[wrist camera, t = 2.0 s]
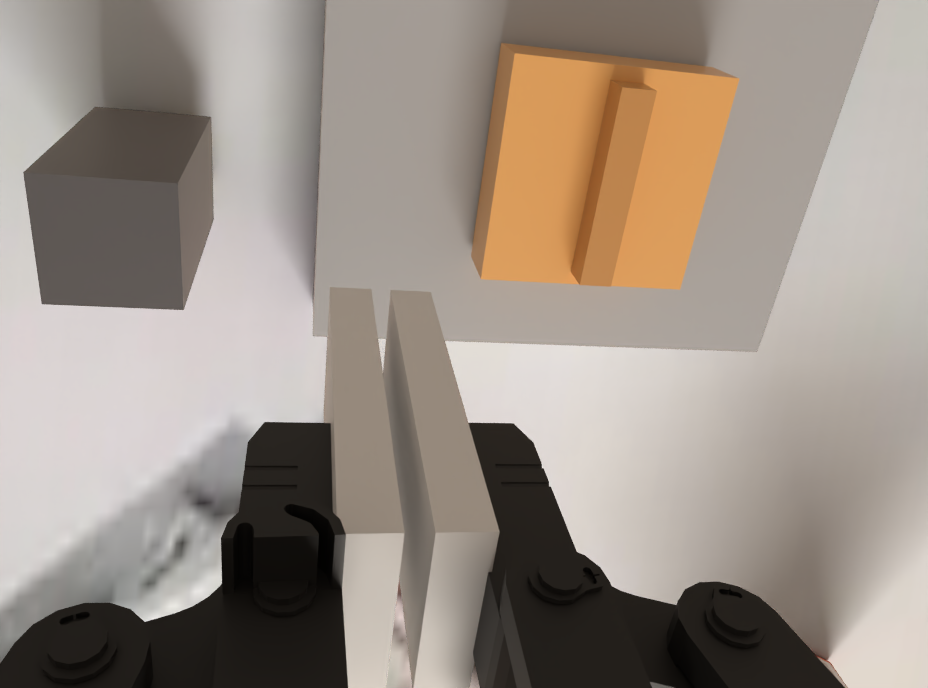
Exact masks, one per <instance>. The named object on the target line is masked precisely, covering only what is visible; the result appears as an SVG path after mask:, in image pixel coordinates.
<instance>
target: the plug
mask: <svg viewBox="0 0 928 688" xmlns="http://www.w3.org/2000/svg"><path fill="white" fill-rule="evenodd" d="M23 173H24V180H25V187H26V194H27V201H28V209H29V216H30V223H31V230H32V237H33V244H34V251H35V259H36V266H37V273H38V280H39V287H40V294H41V301H42V304H51V305H76V306H101V307H125V308H150V309H174V310H184V307H185V304H186V301H187V298H188V295H189V292H190V289H191V286H192V283H193V280H194V277H195V274H196V271H197V268H198V265H199V262H200V259H201V256H202V253H203V250H204V247H205V244H206V241H207V238H208V235H209V232H210V229H211V226H212V223H213V220H214V214H213V174H212V133H211V117H206V116H194V115H183V114H172V113H160V112H149V111H138V110H127V109H115V108H104V107H94V108H93V109H92V110H91V111H90V112H89V113H88V114H87V115H86V116H85V117H84V118H82V119H81V120H80V121H79V122H78V123H77V124H76V125H75V126H74V127H73V128H72V129H70V130H69V131H68V132H67V133H66V134H65V135H64V136H63V137H62V138H61V139H59V140H58V141H57V142H56V143H55V144H54V145H53V146H52V147H51V148H50V149H49V150H47V151H46V152H45V153H44V154H43V155H42V156H41V157H40V158H39V159H38V160H36V161H35V162H34V163H33V164H32V165H31V166H30V167H29V168H28V169H27V170H26V171H24V172H23Z"/></svg>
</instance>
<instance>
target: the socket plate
mask: <svg viewBox="0 0 928 688" xmlns="http://www.w3.org/2000/svg"><path fill="white" fill-rule="evenodd" d="M878 2H879V0H325V25H324V49H323V74H322V99H321V124H320V148H319V173H318V198H317V222H316V247H315V272H314V296H313V336H322V337H327V336H328V317H329V297H330V287H339V288H360V289H371V291H372V298H373V306H374V313H375V320H376V328H377V335H378V339H386V335H387V324H388V313H389V302H390V292H391V290H402V291H423V292H431V295H432V298H433V302H434V305H435V309H436V312H437V316H438V319H439V323H440V326H441V330H442V333H443V337H444V340H445V341H463V342H491V343H519V344H547V345H576V346H604V347H632V348H660V349H688V350H717V351H745V352H757V351H758V348H759V345H760V342H761V339H762V336H763V333H764V330H765V328H766V325H767V322H768V319H769V316H770V313H771V310H772V307H773V304H774V302H775V299H776V296H777V293H778V290H779V287H780V284H781V281H782V279H783V276H784V273H785V270H786V267H787V264H788V261H789V258H790V256H791V253H792V250H793V247H794V244H795V241H796V238H797V235H798V232H799V230H800V227H801V224H802V221H803V218H804V215H805V212H806V209H807V207H808V204H809V201H810V198H811V195H812V192H813V189H814V186H815V184H816V181H817V178H818V175H819V172H820V169H821V166H822V163H823V160H824V158H825V155H826V152H827V149H828V146H829V143H830V140H831V137H832V135H833V132H834V129H835V126H836V123H837V120H838V117H839V114H840V112H841V109H842V106H843V103H844V100H845V97H846V94H847V91H848V88H849V86H850V83H851V80H852V77H853V74H854V71H855V68H856V65H857V63H858V60H859V57H860V54H861V51H862V48H863V45H864V42H865V40H866V37H867V34H868V31H869V28H870V25H871V22H872V19H873V16H874V14H875V11H876V8H877V5H878ZM501 43H507V44H516V45H525V46H533V47H542V48H551V49H559V50H568V51H577V52H586V53H594V54H603V55H612V56H620V57H629V58H638V59H647V60H655V61H664V62H673V63H681V64H690V65H699V66H708V67H713V68H716V69H718V70H720V71H723V72H725V73H728V74H730V75H732V76H735V77H737V78H739V83H738V86H737V90H736V93H735V97H734V100H733V104H732V107H731V111H730V114H729V118H728V121H727V125H726V129H725V132H724V136H723V139H722V143H721V146H720V150H719V153H718V157H717V160H716V164H715V168H714V171H713V175H712V178H711V182H710V185H709V189H708V192H707V196H706V199H705V203H704V207H703V210H702V214H701V217H700V221H699V224H698V228H697V231H696V235H695V238H694V242H693V246H692V249H691V253H690V256H689V260H688V263H687V267H686V270H685V274H684V277H683V281H682V285H681V288H680V290H677V289H658V288H638V287H619V286H611V287H606V286H587V285H579V284H561V283H542V282H523V281H504V280H484V279H481V278H480V276H479V274H478V272H477V269H476V267H475V265H474V262H473V260H472V258H471V252H472V245H473V238H474V231H475V224H476V217H477V210H478V203H479V196H480V188H481V181H482V174H483V167H484V160H485V153H486V146H487V139H488V132H489V125H490V118H491V111H492V103H493V96H494V89H495V82H496V75H497V68H498V61H499V54H500V47H501Z"/></svg>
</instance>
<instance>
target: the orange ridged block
mask: <svg viewBox="0 0 928 688" xmlns="http://www.w3.org/2000/svg"><path fill="white" fill-rule="evenodd" d="M738 83H739V78H737V77H735V76H732V75H730V74H728V73H725V72H723V71H720V70H718V69H716V68H713V67H708V66H699V65H690V64H681V63H673V62H664V61H655V60H647V59H638V58H629V57H620V56H612V55H603V54H594V53H586V52H577V51H568V50H559V49H551V48H542V47H533V46H525V45H516V44H507V43H501V47H500V54H499V61H498V68H497V75H496V82H495V89H494V96H493V103H492V111H491V118H490V125H489V132H488V139H487V146H486V153H485V160H484V167H483V174H482V181H481V188H480V196H479V203H478V210H477V217H476V224H475V231H474V238H473V245H472V252H471V258H472V260H473V262H474V265H475V267H476V269H477V272H478V274H479V276H480V278H481V279H484V280H504V281H523V282H542V283H561V284H579V285H587V286H606V287H611V286H619V287H638V288H658V289H677V290H680V288H681V285H682V281H683V277H684V274H685V270H686V267H687V263H688V260H689V256H690V253H691V249H692V246H693V242H694V238H695V235H696V231H697V228H698V224H699V221H700V217H701V214H702V210H703V207H704V203H705V199H706V196H707V192H708V189H709V185H710V182H711V178H712V175H713V171H714V168H715V164H716V160H717V157H718V153H719V150H720V146H721V143H722V139H723V136H724V132H725V129H726V125H727V121H728V118H729V114H730V111H731V107H732V104H733V100H734V97H735V93H736V90H737V86H738Z"/></svg>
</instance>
